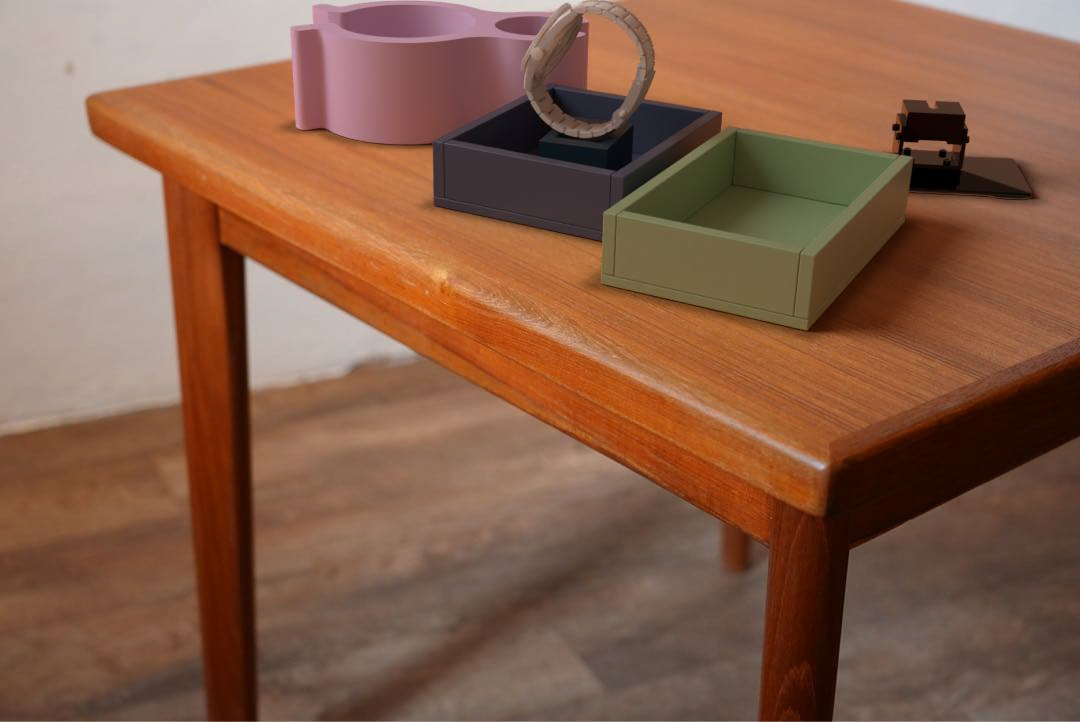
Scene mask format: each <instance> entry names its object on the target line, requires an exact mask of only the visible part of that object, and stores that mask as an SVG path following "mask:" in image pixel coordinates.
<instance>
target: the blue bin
mask: <svg viewBox="0 0 1080 722" xmlns="http://www.w3.org/2000/svg"><path fill="white" fill-rule="evenodd" d="M545 86H546V90H545V91H547V92H548V93H549V95H550V97H551V98H552V100H553V103H552V104H556V105H557V106H558V107H559V108H560V109H561V110H562V111H563V114H564V113H565V114H567V115H569V116H572V117H580V118H588V119H597V120H605V121H611V119H612V115H613V113H614V112H615V111H616V110H617V109H619V108H620V107H621V106H622V104H623V102H624V101H625V99H626V97H627V95H622V94H616V93H611V92H606V91H605V92H603V91H600V90H599V91H598V90H592V89H588V88H587V89H581V88H575V87H569V86H563V85H557V84H551V83H548V84H546V85H545ZM542 99H543V98H542ZM542 99H541V100H542ZM541 100H540V101H541ZM540 101H539V102H540ZM551 112H552V111H551ZM551 112H550V113H551ZM540 114H541V113H540ZM540 114H537V112H536V111H535V110H534V108H533V106H532V105H531V101H530V100H529V98H528V96H527V94H526V95H524V96H522V97H520V98H518V99H516V100H514V101H512V102H510V103H508V104H506V105H504V106H502V107H500V108H498V109H496V110H494V111H491V112H489V113H487V114H485V115H483V116H481V117H479V118H477V119H475V120H473V121H471V122H469V123H467V124H465V125H463V126H461V127H459V128H457V129H455V130H453V131H451V132H449V133H447V134H445V135H443V136H441V137H439V138H437V139H435V140H433V143H432V174H433V175H432V183H433V185H432V189H433V191H432V192H433V194H432V195H433V206H435V207H441V208H445V209H450V210H455V211H459V212H464V213H468V214H473V215H477V216H482V217H487V218H492V219H497V220H501V221H505V222H510V223H516V224H518V225H519V224H520V225H525V226H528V227H534V228H539V229H542V230H543V229H544V230H548V231H551V232H557V233H562V234H565V235H566V234H567V235H571V236H576V237H580V238H585V239H590V240H595V241H600V242H602V238H603V213H604V212H605V211H606V210H608V209H609V208H611V207H612V206H614V205H615V204H616V203H618V202H619V201H621V200H622V199H624V198H625V197H627V196H628V195H630V194H631V193H632V192H634V191H635V190H637V189H638V188H640V187H641V186H643V185H644V184H645V183H647V182H648V181H650V180H651V179H653V178H654V177H656V176H657V175H659V174H660V173H661V172H663V171H664V170H666V169H667V168H669V167H670V166H672V165H673V164H675V163H676V162H677V161H679V160H680V159H682V158H683V157H685V156H686V155H688V154H689V153H690V152H692V151H693V150H695V149H696V148H698V147H699V146H701V145H702V144H704V143H705V142H706V141H708V140H709V139H711V138H712V137H714V136H715V135H717V134H718V133H719V132H721V131H722V122H723V112H722V111H718V110H713V109H712V110H711V109H707V108H701V107H695V106H688V105H682V104H676V103H671V102H665V101H659V100H651V99H647V98H644V99H643V101H642V103H641V104H640V106H639V107H638V108H637V110H636V111H635V112H634V113H633V115H632V116H631V117H630V118H629V119H628V120H627V121H626V122H625V123H630V124H634V127H633V149H632V162H631V163H630V164H628V165H626V166H625V167H623V168H622V169H620V170H619V171H617V172H616V171H613V170H608V169H602V168H597V167H592V166H587V165H581V164H576V163H571V162H566V161H560V160H555V159H550V158H545V157H539V140H541V139H542V138H543V137H544V136H545V135H547V134H548V133H549V132H550V131H551V130H553V128H552V127H551V125H548V124H547V123H546V122H544V121H543V120H542V119H541V117H540V116H539V115H540ZM548 114H549V113H548ZM563 114H562V115H563Z"/></svg>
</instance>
